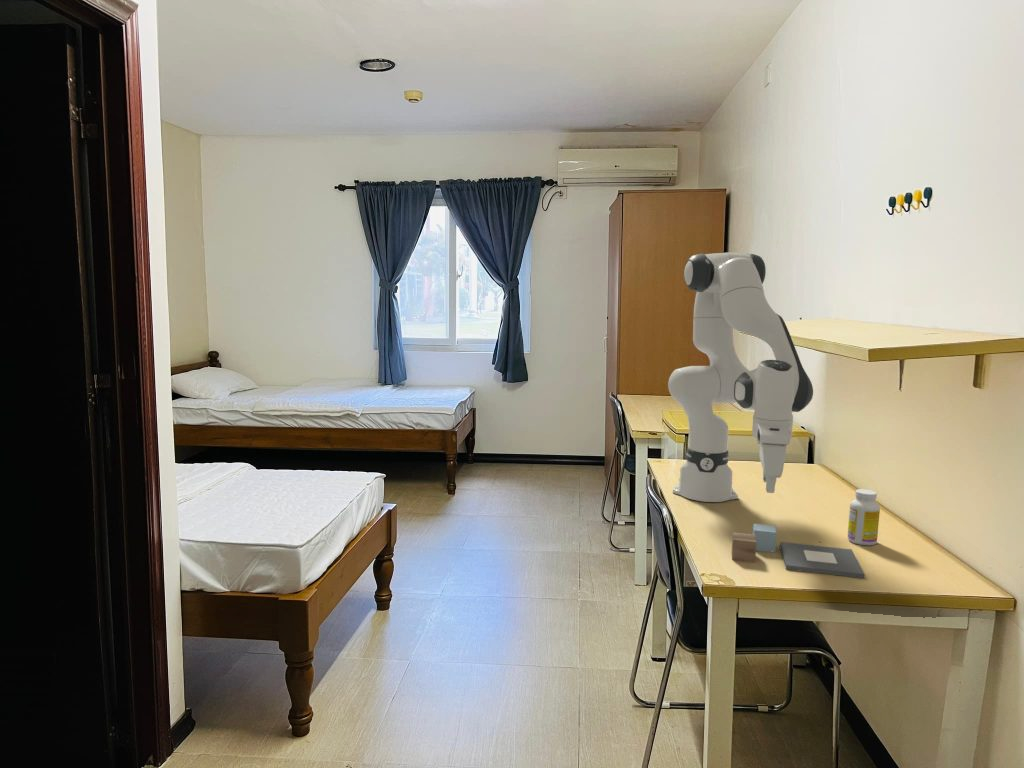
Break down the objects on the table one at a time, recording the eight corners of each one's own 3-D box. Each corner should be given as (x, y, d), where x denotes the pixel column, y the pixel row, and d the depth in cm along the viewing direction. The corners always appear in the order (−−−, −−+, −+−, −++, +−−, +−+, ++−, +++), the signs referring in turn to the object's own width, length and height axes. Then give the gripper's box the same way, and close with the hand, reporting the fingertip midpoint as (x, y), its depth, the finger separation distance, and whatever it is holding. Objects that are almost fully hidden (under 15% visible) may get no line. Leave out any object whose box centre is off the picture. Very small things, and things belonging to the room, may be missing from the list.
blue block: (751, 543, 176) (753, 523, 175) (773, 545, 175) (774, 525, 174) (752, 550, 171) (754, 530, 171) (775, 552, 170) (776, 532, 169)
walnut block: (731, 552, 170) (732, 532, 169) (753, 554, 168) (755, 534, 168) (732, 560, 165) (733, 539, 164) (754, 563, 164) (756, 542, 163)
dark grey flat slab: (779, 545, 174) (780, 541, 174) (851, 553, 170) (851, 549, 170) (786, 569, 160) (786, 564, 160) (864, 578, 156) (864, 573, 156)
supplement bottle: (880, 541, 178) (885, 492, 176) (871, 548, 174) (876, 497, 172) (852, 534, 183) (857, 486, 181) (842, 541, 178) (847, 491, 176)
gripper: (755, 421, 179) (752, 475, 181) (760, 437, 160) (757, 497, 162) (782, 422, 178) (778, 477, 180) (790, 439, 158) (786, 499, 160)
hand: (768, 486), depth 170 cm, fingers open, 8 cm apart
